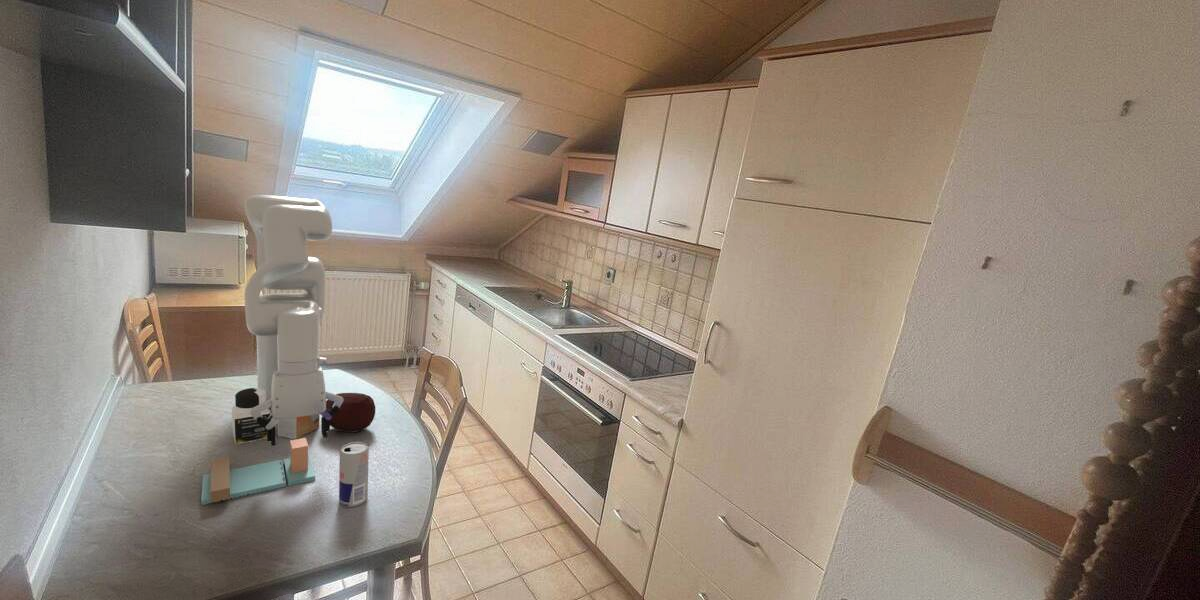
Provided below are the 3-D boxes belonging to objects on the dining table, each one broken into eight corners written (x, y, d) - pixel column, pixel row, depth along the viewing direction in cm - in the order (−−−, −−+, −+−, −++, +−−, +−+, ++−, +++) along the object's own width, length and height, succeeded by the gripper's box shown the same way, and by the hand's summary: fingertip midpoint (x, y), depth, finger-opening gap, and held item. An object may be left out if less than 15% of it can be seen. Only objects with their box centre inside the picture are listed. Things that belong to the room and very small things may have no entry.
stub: (283, 463, 111) (283, 435, 109) (309, 458, 114) (309, 431, 112) (288, 485, 103) (288, 456, 102) (315, 479, 106) (315, 451, 105)
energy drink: (340, 494, 102) (340, 442, 100) (368, 490, 105) (369, 440, 102) (337, 509, 98) (338, 455, 95) (366, 505, 100) (368, 453, 97)
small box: (296, 440, 121) (295, 401, 119) (277, 436, 122) (276, 397, 120) (320, 427, 128) (320, 390, 126) (302, 422, 129) (302, 386, 127)
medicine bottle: (235, 445, 115) (233, 398, 113) (232, 432, 121) (230, 388, 118) (271, 438, 120) (270, 393, 118) (266, 426, 125) (265, 383, 123)
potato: (337, 417, 134) (338, 382, 132) (383, 424, 134) (384, 389, 132) (312, 436, 124) (312, 398, 121) (361, 443, 123) (362, 405, 121)
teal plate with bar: (203, 475, 103) (202, 461, 102) (281, 460, 112) (281, 447, 111) (201, 509, 93) (200, 493, 92) (286, 490, 102) (286, 475, 101)
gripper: (340, 356, 112) (339, 424, 115) (248, 364, 101) (250, 439, 104) (346, 366, 106) (346, 438, 109) (249, 376, 95) (252, 455, 98)
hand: (299, 438), depth 106 cm, fingers open, 9 cm apart
